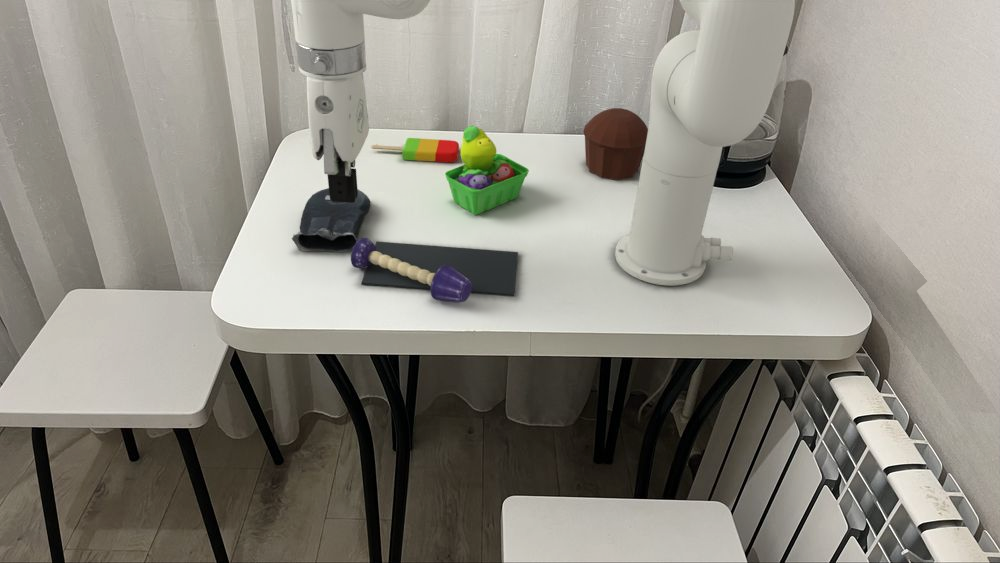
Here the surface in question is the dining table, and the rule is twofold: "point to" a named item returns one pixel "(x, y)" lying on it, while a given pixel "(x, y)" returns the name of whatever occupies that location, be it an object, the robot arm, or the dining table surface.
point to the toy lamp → (415, 272)
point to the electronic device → (331, 223)
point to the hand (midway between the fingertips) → (344, 198)
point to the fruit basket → (484, 174)
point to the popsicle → (426, 150)
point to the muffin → (615, 143)
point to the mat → (478, 265)
